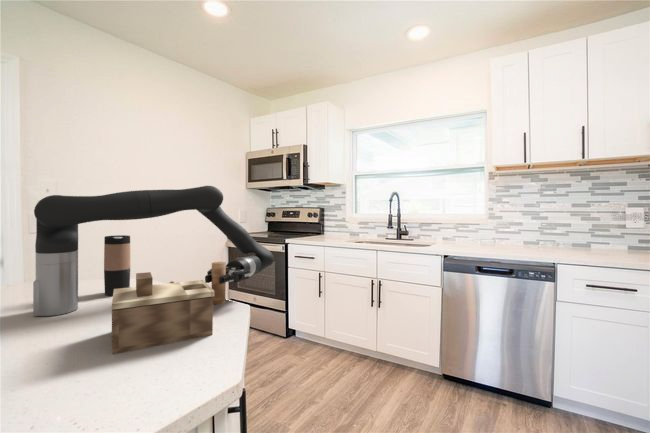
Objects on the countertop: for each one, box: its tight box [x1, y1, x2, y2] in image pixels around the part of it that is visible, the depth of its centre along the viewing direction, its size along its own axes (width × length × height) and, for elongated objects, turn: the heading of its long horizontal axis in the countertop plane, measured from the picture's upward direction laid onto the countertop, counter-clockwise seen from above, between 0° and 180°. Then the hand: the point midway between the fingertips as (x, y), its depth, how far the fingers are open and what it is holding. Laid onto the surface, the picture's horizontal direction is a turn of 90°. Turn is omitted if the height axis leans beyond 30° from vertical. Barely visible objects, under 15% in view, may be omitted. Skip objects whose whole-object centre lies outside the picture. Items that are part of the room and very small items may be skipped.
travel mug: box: [103, 234, 131, 297], centre depth 108 cm, size 8×8×20 cm
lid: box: [111, 271, 214, 311], centre depth 74 cm, size 20×14×5 cm, turn 123°
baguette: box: [211, 261, 227, 305], centre depth 93 cm, size 4×4×12 cm
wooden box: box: [111, 288, 214, 355], centre depth 75 cm, size 20×14×9 cm
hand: (213, 279), depth 91 cm, fingers closed on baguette, 4 cm apart
